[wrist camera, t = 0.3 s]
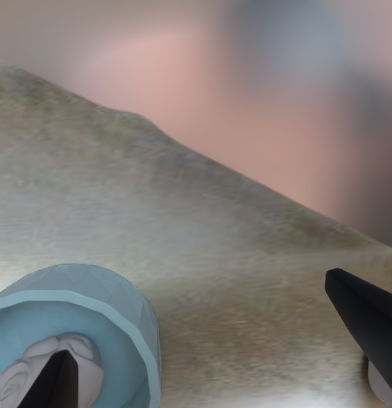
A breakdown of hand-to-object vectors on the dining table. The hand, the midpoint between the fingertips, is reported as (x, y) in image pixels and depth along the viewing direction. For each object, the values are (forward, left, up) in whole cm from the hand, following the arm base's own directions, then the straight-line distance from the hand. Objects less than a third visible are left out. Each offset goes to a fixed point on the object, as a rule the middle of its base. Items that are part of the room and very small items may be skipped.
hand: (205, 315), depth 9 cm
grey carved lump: (-2, +13, -14) cm, 19 cm away
